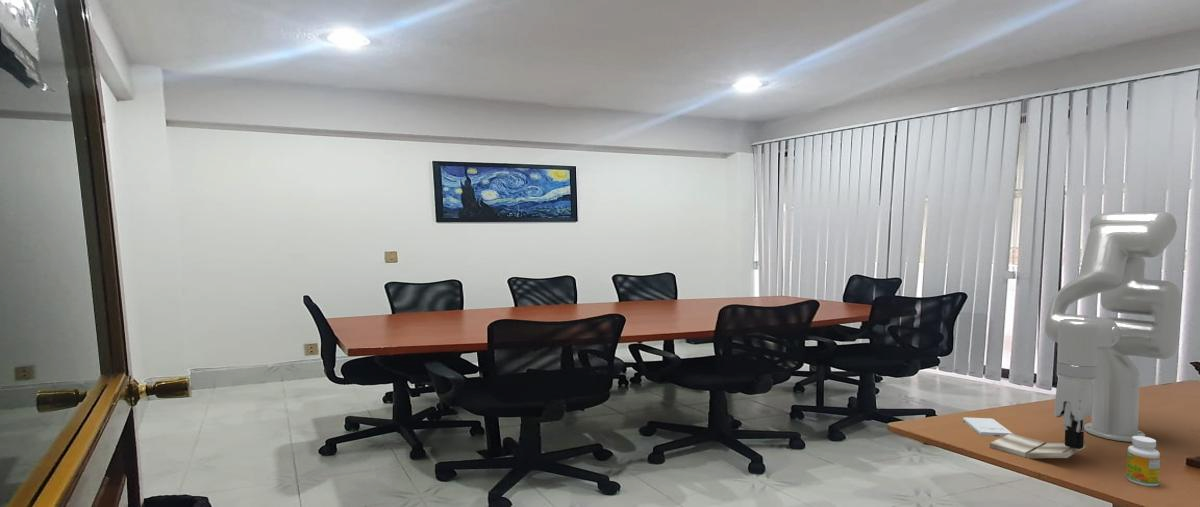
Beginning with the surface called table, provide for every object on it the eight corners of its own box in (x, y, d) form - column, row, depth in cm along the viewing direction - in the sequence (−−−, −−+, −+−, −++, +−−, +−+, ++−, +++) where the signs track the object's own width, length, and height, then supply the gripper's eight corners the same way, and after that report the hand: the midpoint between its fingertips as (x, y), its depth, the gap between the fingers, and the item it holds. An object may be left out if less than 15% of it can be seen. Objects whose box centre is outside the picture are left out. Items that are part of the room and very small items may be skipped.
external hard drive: (993, 424, 176) (1014, 439, 164) (962, 422, 177) (980, 437, 165) (993, 418, 176) (1014, 433, 164) (962, 417, 177) (980, 431, 165)
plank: (1049, 447, 155) (1048, 442, 156) (1086, 446, 149) (1084, 441, 149) (1029, 458, 149) (1027, 452, 149) (1067, 457, 142) (1064, 451, 143)
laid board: (1010, 437, 163) (1010, 433, 163) (1048, 447, 156) (1048, 442, 156) (989, 447, 156) (989, 442, 156) (1027, 458, 149) (1027, 453, 149)
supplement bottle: (1120, 477, 137) (1121, 435, 137) (1141, 476, 138) (1143, 434, 137) (1143, 487, 132) (1144, 443, 132) (1165, 486, 133) (1167, 442, 132)
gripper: (1069, 364, 152) (1067, 436, 153) (1045, 372, 144) (1042, 448, 144) (1107, 370, 146) (1104, 445, 147) (1083, 378, 138) (1081, 458, 138)
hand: (1073, 446), depth 146 cm, fingers closed
